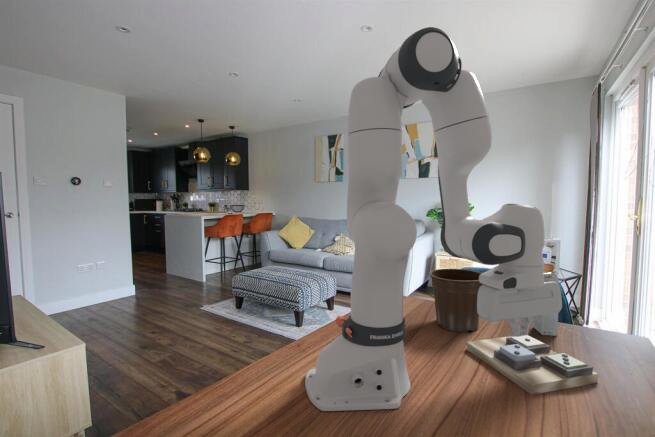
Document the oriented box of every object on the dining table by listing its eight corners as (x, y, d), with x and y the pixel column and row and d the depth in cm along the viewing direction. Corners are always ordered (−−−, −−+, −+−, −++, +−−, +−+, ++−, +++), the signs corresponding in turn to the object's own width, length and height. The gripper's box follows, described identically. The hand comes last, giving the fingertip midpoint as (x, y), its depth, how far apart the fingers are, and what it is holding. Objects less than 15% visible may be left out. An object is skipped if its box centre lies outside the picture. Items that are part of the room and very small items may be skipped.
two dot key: (516, 364, 71) (516, 355, 70) (499, 353, 75) (499, 345, 75) (535, 361, 72) (535, 352, 72) (517, 351, 77) (517, 343, 76)
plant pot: (426, 330, 96) (427, 277, 95) (431, 312, 111) (431, 266, 110) (487, 339, 90) (488, 282, 89) (483, 319, 104) (484, 270, 103)
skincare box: (558, 336, 91) (559, 295, 90) (541, 335, 92) (542, 294, 91) (548, 327, 97) (549, 289, 96) (532, 326, 98) (533, 288, 97)
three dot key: (567, 375, 68) (567, 366, 68) (545, 363, 72) (546, 354, 72) (585, 372, 69) (586, 363, 69) (563, 360, 74) (564, 352, 74)
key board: (531, 394, 64) (532, 377, 64) (466, 349, 84) (467, 336, 84) (597, 382, 68) (598, 366, 68) (520, 342, 88) (521, 329, 88)
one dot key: (527, 353, 77) (527, 345, 77) (511, 343, 82) (511, 336, 82) (544, 350, 79) (544, 342, 78) (527, 341, 83) (527, 334, 83)
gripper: (545, 268, 78) (544, 324, 79) (472, 276, 73) (472, 335, 74) (570, 274, 72) (569, 334, 73) (492, 283, 67) (492, 347, 68)
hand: (520, 335), depth 73 cm, fingers closed
